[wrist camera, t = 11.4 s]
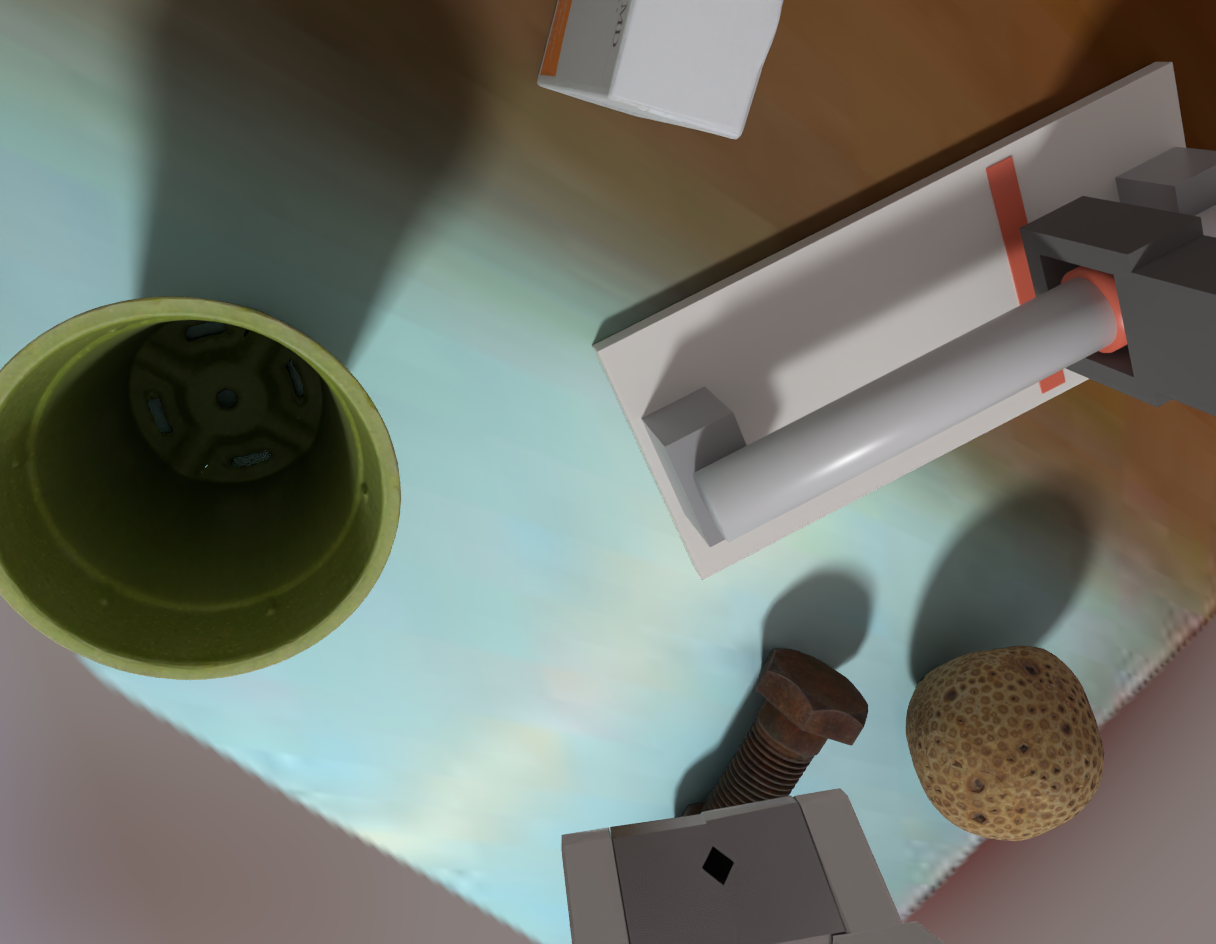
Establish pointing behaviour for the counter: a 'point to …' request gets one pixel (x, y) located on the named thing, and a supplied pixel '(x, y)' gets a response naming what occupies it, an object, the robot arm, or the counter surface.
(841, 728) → the bolt
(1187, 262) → the collar
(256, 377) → the plant pot
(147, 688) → the counter surface
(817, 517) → the pipe stand
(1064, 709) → the natural sponge
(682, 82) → the skincare box
